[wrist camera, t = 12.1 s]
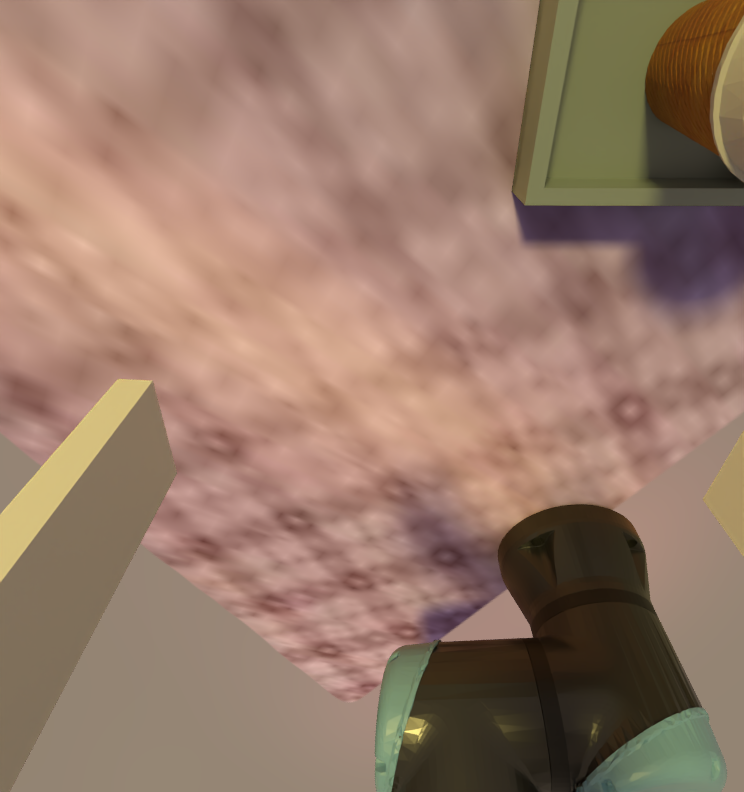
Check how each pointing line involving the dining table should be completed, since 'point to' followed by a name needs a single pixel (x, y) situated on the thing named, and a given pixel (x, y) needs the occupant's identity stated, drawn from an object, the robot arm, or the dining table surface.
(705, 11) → the disposable coffee cup
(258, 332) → the dining table surface
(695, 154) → the bin
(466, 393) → the dining table surface
